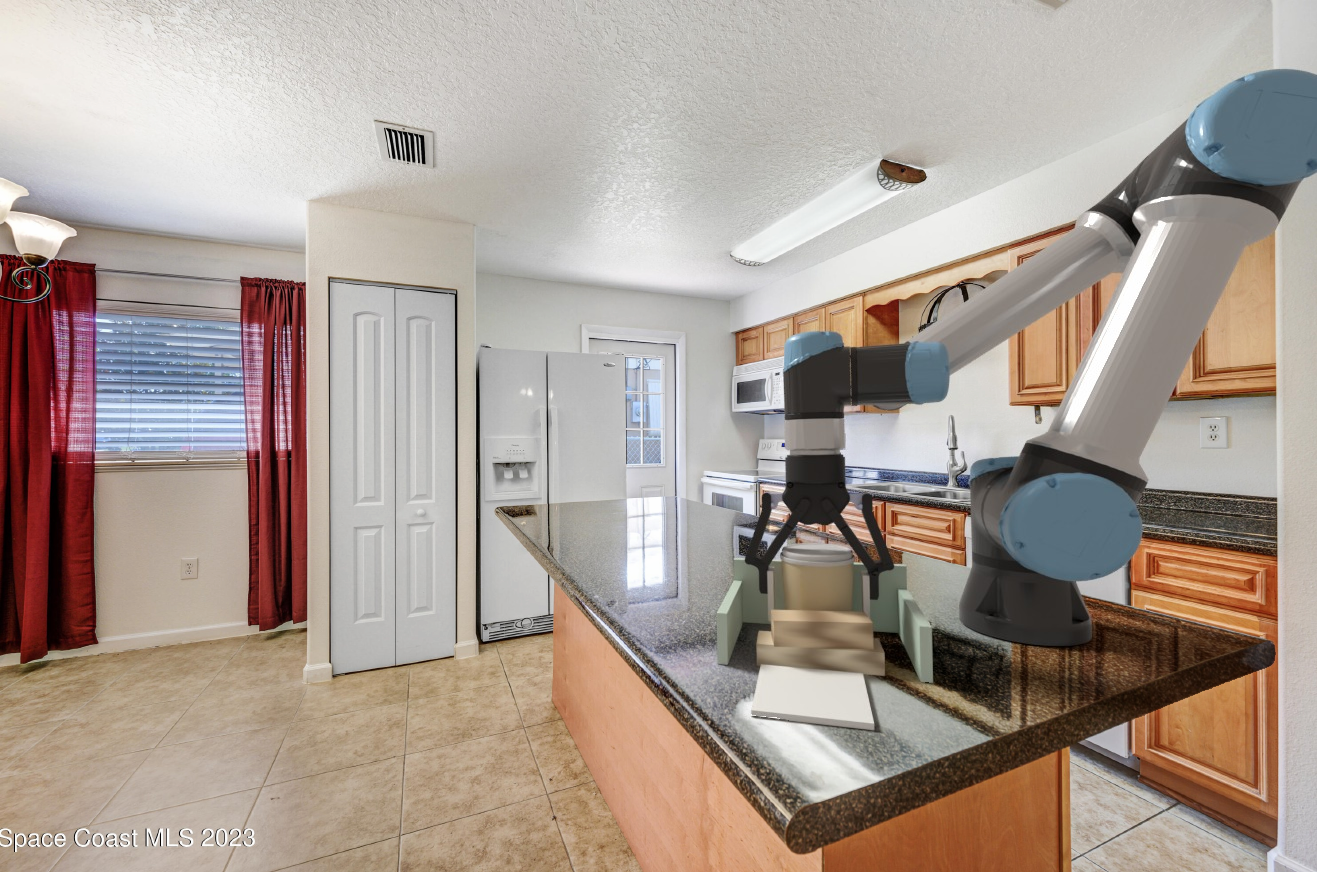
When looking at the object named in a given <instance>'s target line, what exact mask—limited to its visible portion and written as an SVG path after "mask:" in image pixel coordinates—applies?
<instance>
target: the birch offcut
mask: <svg viewBox="0 0 1317 872" xmlns="http://www.w3.org/2000/svg"><path fill="white" fill-rule="evenodd" d="M885 655H886V654H885V651H884V648H883V647H882V644H881V641H880V640H879V638H877V637H873V649H838V648H802V647H774V644H773V640H772V635H771V630H770V631H769V630H758V633H757V638H756V666H757V667H761V664H763V665H774V666H785V667H797V668H808V669H819V670H831V671H842V672H853V673H863V675H870V676H882V677H886V663H885V662H886V661H885V658H886V657H885Z"/></svg>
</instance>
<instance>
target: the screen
mask: <svg viewBox="0 0 1317 872" xmlns="http://www.w3.org/2000/svg"><path fill="white" fill-rule="evenodd" d="M853 563H854V568H853V595H852V611H857V612H862V595H861V571H867V569H866V567H865V566H864V564H863V563H862V562H858V561H857V562H855V561H854V562H853ZM769 567H774V571H775V610H785V600H784V588H783V576H782V560H781V559H775V558H774V559H773V560H772V562H771V563H770V565H769ZM907 571H908V570H907V565H906V563H905V564H903V563H894V569H893V570H891V571H888V570H887V571H884V572H881V573H880V574H879V597H878V600H870V620H871V621H872V622H873V632H882V633H894V634H895V633H896V634H898V636H899V637H900V640H901V642H902V644H903V646H904V649H905V651H906V654H907V655H908V657H909V659H910V661H911V664H912V666H913V668H914V671H915V672H916V675H917V677H918V679H919V681H920V683H925V682H929V683H928V684H934V671H933V668H934V667H933V666H934V665H933V662H934V661H933V628H932V627H933V626H932V625H931V624H930V622H929V620H928V619H927V618H926V616H925V614H924V613H923V611H922V609H920V607H919V605H918V603H917V602H916V600H915V599H914V597H913V596H912V594H911V593H910V591H909V590H908V581H907V580H908V577H907V576H908V574H907V573H908V572H907ZM743 623H747V624H748V623H749V624H764V625H771V621H768V594H761V593H760V591H759V570H758V568H757V567H755V566H753V565H748V564H746V563H745V557H743V558H742V557H734V558H733V581H732V584H731V585H730V587H729V588H728V591H727V592H726V594H725V597H724V598H723V600H722V602H721V604H720V605H719V608H718V609H717V612H716V640H717V642H716V646H717V648H716V649H717V650H716V651H717V654H716V655H717V665H726V666H727V665H729V663H730V660H731V658H732V654H733V652H734V649H735V646H736V643H737V640H738V637H739V635H740V632H741V629H742V627H743Z"/></svg>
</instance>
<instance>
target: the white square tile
mask: <svg viewBox="0 0 1317 872" xmlns="http://www.w3.org/2000/svg"><path fill="white" fill-rule="evenodd" d="M759 667H760V668H759V672H758V675H757V681H756V684H755V685H756V686H755V691H754V695H753V700H752V704H751V710H750V715H751V714H752V715H756V716H766V717H777V718H780V719H786V720H785V721H788V720H789V722H799V723H805V724H817V725H825V726H833V727H840V728H841V727H842V728H852V729H860V730H866V731H867V730H869V731H875V722H874V716H873V713H872V709H871V704H870V698H869V695H868V690H867V686H866V682H865V681H866V680H865V676H864V674H863V673H853V672H842V671H831V670H819V669H808V668H797V667H785V666H774V665H763V664H761V666H759Z"/></svg>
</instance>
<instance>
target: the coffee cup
mask: <svg viewBox="0 0 1317 872" xmlns="http://www.w3.org/2000/svg"><path fill="white" fill-rule="evenodd" d="M853 552H854V551H853V549H852V548H849V547H848V546H843V545H840V544H833V543H832V544H831V543H820V542H804V543H802V542H801V543H800V542H799V543H793V544H792V543H791V544H788V545H785V546H782V547H781V552H780V554H779V559H780V560H782V576H783V588H784V600H785V610H809V611H852V595H853V568H854V563H853V562H855V560H856V556H855V555H854V554H853Z"/></svg>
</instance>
